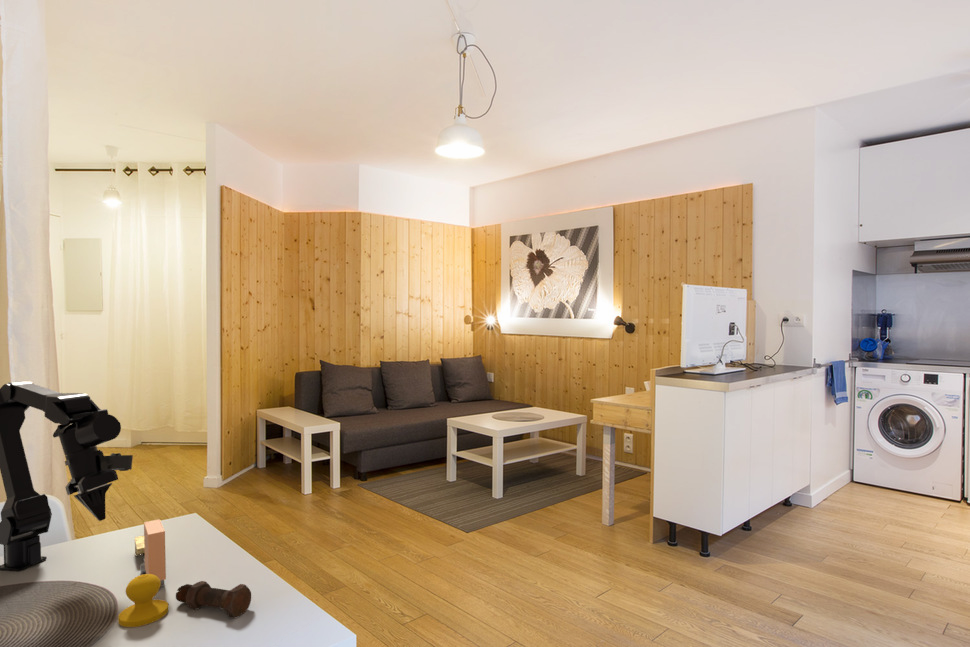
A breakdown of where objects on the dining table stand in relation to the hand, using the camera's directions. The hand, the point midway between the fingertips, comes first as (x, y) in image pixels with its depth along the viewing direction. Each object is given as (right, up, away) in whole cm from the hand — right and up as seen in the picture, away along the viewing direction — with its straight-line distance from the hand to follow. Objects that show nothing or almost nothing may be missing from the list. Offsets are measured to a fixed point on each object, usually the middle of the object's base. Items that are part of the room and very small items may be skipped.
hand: (102, 520), depth 119 cm
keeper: (+3, -12, +11) cm, 17 cm away
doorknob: (+19, -13, -16) cm, 27 cm away
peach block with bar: (+9, -12, +3) cm, 16 cm away
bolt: (+30, -13, -13) cm, 35 cm away
